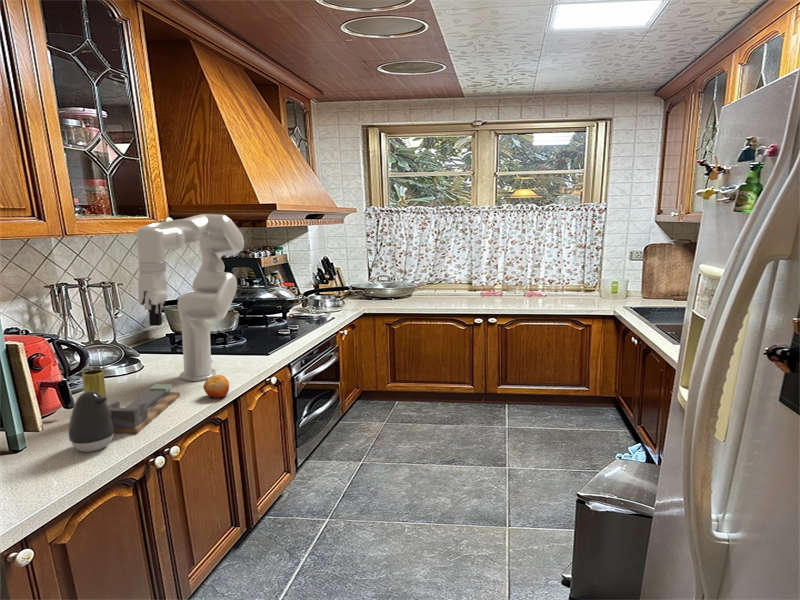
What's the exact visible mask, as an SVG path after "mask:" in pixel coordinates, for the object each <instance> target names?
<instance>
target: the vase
mask: <svg viewBox="0 0 800 600" xmlns="http://www.w3.org/2000/svg"><path fill="white" fill-rule="evenodd" d="M81 376H82V384H83V386H82V387H83V393H85V392H88V391H95V392H97V393H99V394H100V395H101V396H102V397H107V391H106V382H105V372H104V370H103V369H101V368H95V369H93V368H92V369H89V370H85V371H83V372H82V375H81ZM107 400H108V399H107ZM107 400H106V403H107V404H108V401H107Z"/></svg>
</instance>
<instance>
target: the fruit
mask: <svg viewBox="0 0 800 600" xmlns="http://www.w3.org/2000/svg"><path fill="white" fill-rule="evenodd" d="M203 390H204V391H205V394H206V395H207V396H208V397H209V398H210V399H218V398H225V397H227V395H228V393H229V390H230V382H229V380H228V379H227V378H226V376H225V375H223V374H216V375H215V376H212V377H210V378H209V379H206V380H205V382H204V384H203Z"/></svg>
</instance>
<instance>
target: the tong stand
mask: <svg viewBox="0 0 800 600" xmlns="http://www.w3.org/2000/svg"><path fill="white" fill-rule="evenodd" d="M171 390H172V389H170V390H169V391H168V392H166V393H165V394H164V395H162V396H161V397H160V398H159V399H157V400H156V401H155V402H154V403H152V404H151V405H150V406H149V407H147V401H143V402H142V403H140V404H139V405H138V406H136V407H135V408H125V407H121V405H120V403H121V402H120V400H115V401H114V402H112V403H110V404H109V405H108V407H109V409H110V411H111V414H112V417H113V420H114V424H115V432H114V435H115V434H117V435H121V434H123V435H125V434H126V435H137V434H139V433H140V432H141V431H142V430H144V428H146V427H147V426H148V425H149V424H150V423H152V422H153V421H154V420H155V419H156V418H157V417H159V415H161V414H162V413H163V412H164V411H165V410H166V409H167V408H169V407H170V406H171V405H172V404H173V403H175V402H176V401H177V400H178V399H179V398H180V397H181V396H180V395H181V392H179V391H178V392H177V391H172V392H171ZM176 399H177V400H176ZM169 405H170V406H169ZM168 406H169V407H168ZM161 412H162V413H161ZM160 413H161V414H160ZM154 418H155V419H154ZM153 419H154V420H153ZM152 420H153V421H152ZM145 426H146V427H145Z"/></svg>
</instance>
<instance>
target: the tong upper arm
mask: <svg viewBox="0 0 800 600" xmlns="http://www.w3.org/2000/svg"><path fill="white" fill-rule="evenodd" d="M148 389H149V390H147V391H146V392H145V393H143V394H142V395H140V396H139V397H138V398H136V399H135V400H134V401H132V402H131V403H130V404H128V405H126V406H125V407H124V408H135V407H136V406H138V405H139V404H140V403H142V402H143V401H147V407H149V406H150V405H151V404H152V403H154V402H155V401H156V400H157V399H159V398H160V397H161V396H162V395H164V394H165V393H166V392H168V391H169V390H172V384H166V383H164V384H162V383H155V384H153V385H152V386H151V387H149V388H148Z"/></svg>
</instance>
